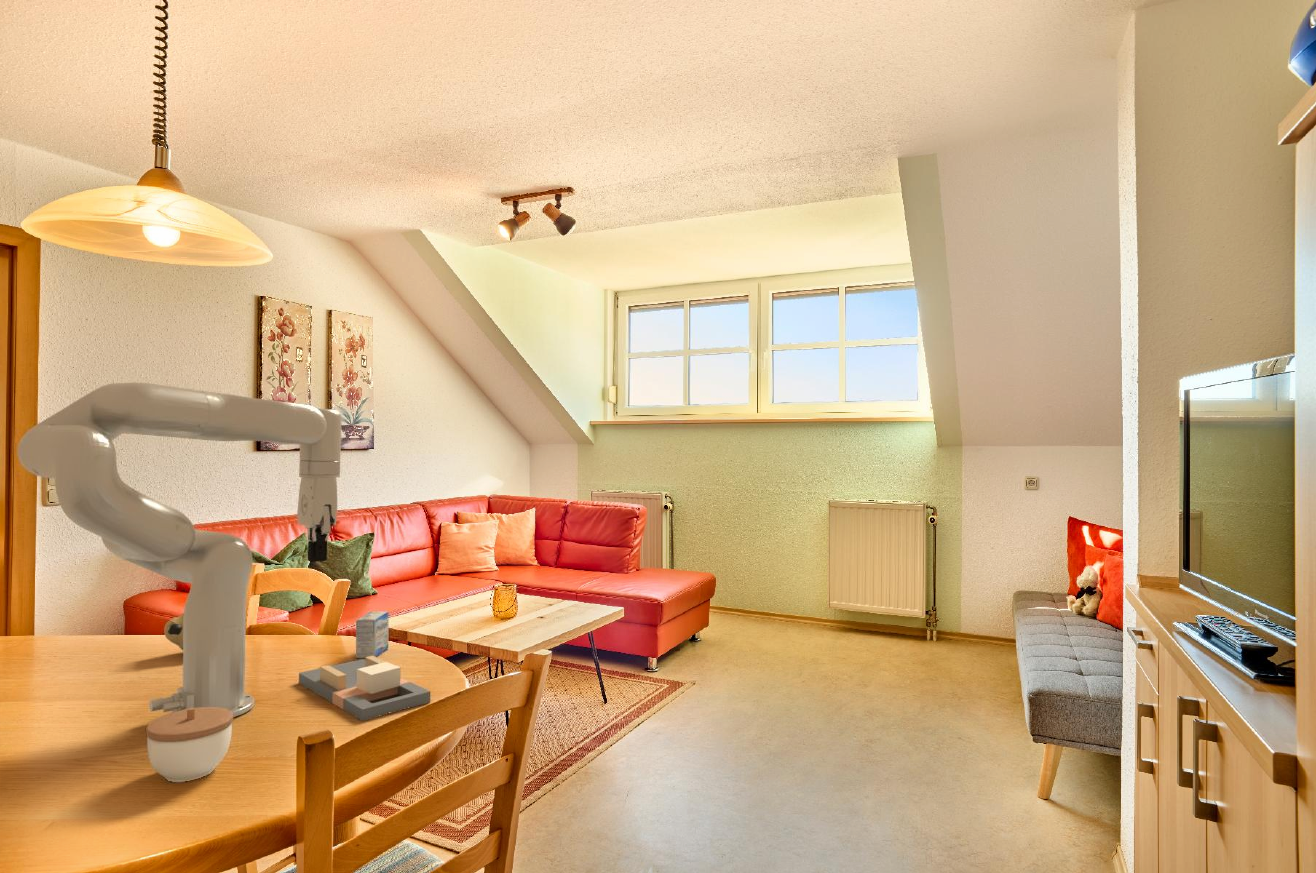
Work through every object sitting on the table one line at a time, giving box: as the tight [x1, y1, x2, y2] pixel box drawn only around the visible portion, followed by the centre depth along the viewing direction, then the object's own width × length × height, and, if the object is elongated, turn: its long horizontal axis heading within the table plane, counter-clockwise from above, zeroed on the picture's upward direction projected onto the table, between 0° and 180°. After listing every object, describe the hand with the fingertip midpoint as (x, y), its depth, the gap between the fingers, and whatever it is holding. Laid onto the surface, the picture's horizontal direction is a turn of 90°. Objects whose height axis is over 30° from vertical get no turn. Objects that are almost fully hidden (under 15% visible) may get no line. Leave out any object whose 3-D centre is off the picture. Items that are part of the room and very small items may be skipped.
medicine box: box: [355, 611, 390, 659], centre depth 168 cm, size 8×4×9 cm, turn 179°
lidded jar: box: [145, 707, 234, 783], centre depth 109 cm, size 11×11×9 cm
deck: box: [298, 656, 431, 722], centre depth 143 cm, size 13×28×4 cm, turn 47°
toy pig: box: [163, 612, 184, 651], centre depth 166 cm, size 10×12×11 cm
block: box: [357, 661, 402, 694], centre depth 141 cm, size 6×5×4 cm
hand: (317, 560), depth 150 cm, fingers closed
